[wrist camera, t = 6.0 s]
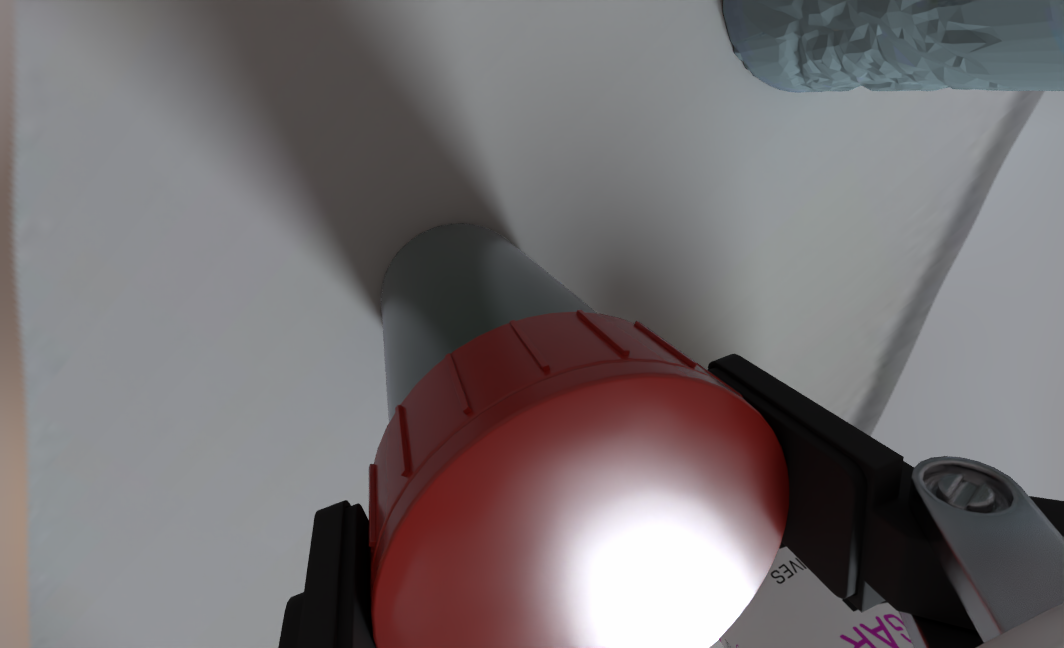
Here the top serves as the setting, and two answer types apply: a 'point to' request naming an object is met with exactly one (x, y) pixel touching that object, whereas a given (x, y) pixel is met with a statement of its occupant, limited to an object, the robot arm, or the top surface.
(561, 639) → the lid
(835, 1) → the embossed blue cup
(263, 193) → the top surface
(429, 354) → the jar
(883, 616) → the supplement can
